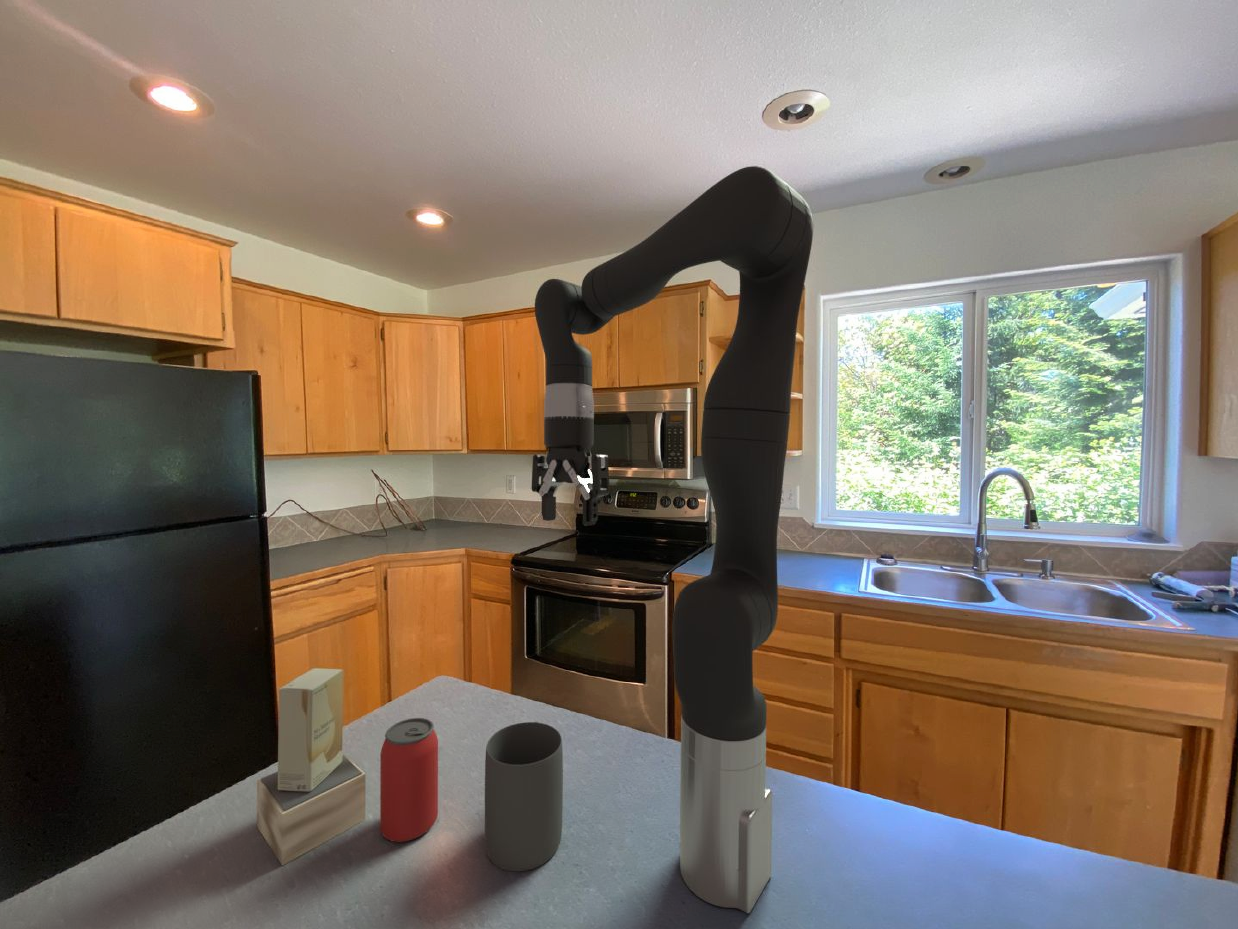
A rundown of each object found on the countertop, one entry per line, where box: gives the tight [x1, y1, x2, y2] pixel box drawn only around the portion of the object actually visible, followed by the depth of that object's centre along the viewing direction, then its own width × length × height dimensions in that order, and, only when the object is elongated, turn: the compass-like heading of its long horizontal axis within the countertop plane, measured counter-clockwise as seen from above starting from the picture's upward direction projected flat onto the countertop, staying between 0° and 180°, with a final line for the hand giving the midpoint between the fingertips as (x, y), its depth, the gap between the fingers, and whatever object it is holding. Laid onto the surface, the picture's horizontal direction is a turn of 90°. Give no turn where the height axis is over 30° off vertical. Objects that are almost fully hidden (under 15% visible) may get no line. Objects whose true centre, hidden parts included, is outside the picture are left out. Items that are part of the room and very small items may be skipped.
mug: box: [484, 721, 564, 872], centre depth 60 cm, size 14×9×12 cm
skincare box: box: [277, 667, 344, 792], centre depth 61 cm, size 6×4×12 cm
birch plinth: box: [256, 752, 366, 866], centre depth 61 cm, size 9×9×6 cm
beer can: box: [379, 717, 439, 843], centre depth 61 cm, size 7×7×12 cm
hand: (568, 522), depth 74 cm, fingers open, 8 cm apart
